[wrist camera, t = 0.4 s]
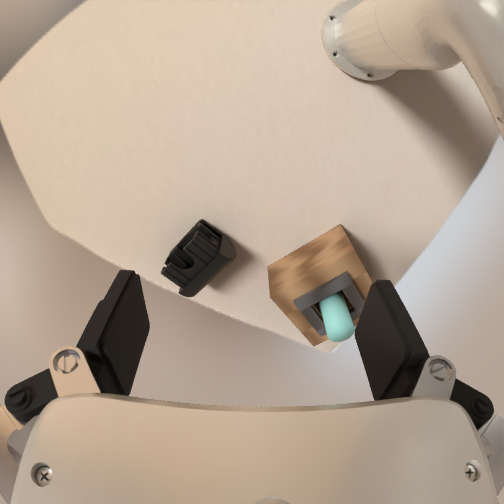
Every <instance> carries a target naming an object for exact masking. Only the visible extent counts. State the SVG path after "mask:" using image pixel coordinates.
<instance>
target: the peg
mask: <svg viewBox="0 0 504 504" xmlns="http://www.w3.org/2000/svg"><path fill="white" fill-rule="evenodd" d="M319 305H320V309H321V313H322V317H323V320H324V324H325V328H326V332H327V336H328V338H329V339H330V340H331V341H334V342H340V341H344V340H346V339H348V338H350V336H352V335H353V333H354V331H355V328H354V325H353V322H352V319H351V316H350V313H349V310H348V308H347V305H346V302H345V299H344V296H343V294H342V291H341V290H340V291H338V292H336V293H335V294H333V295H331V296H329V297H327V298H325V299H323V300H321V301H320V302H319Z"/></svg>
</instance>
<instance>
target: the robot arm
mask: <svg viewBox="0 0 504 504" xmlns="http://www.w3.org/2000/svg"><path fill="white" fill-rule="evenodd" d="M330 18H332V19H333V20H330ZM322 40H323V45H324V47H325V49H326V52H327V54H328V55H329V57H330V58H331V60H332V61H333V62H334V63H335V64H336V65H337V66H338V67H339V68H340V69H341V70H342V71H344V72H346V73H347V74H349V75H351V76H353V77H356V78H358V79H363V80H371V81H373V80H382V79H385V78H388V77H390V76H392V75H394V74H395V73H396V72H397V71H398V70H445V69H448V68H451V67H454V66H455V65H457V64H458V63H460V62H461V61H462V62H463V64H464V65H465V67H466V68H467V70H468V72H469V74H470V75H471V77H472V78H473V79H474V81H475V83H476V85H477V87H478V88H479V90H480V92H481V94H482V96H483V98H484V100H485V102H486V104H487V106H488V108H489V110H490V112H491V114H492V116H493V119H494V121H495V123H496V125H497V127H498V129H499V132H500V134H501V136H502V138H503V140H504V0H347V1H344V2H341V3H340V4H338V5H336V6H335V7H334V8H332V9H331V10H330V11H329V13H328V14H327V15H326V17H325V19H324V21H323V26H322ZM333 53H335V54H336V56H333ZM367 74H369V77H368V76H367ZM149 326H150V324H149V319H148V314H147V310H146V306H145V300H144V296H143V291H142V286H141V281H140V276H139V275H138V274H136V273H135V271H133V270H120V271H119V273H118V274H117V276H116V278H115V280H114V281H113V283H112V285H111V287H110V289H109V290H108V292H107V294H106V296H105V298H104V300H101V301H100V302H99V303H98V305H97V307H96V309H95V311H94V313H93V314H92V316H91V318H90V320H89V322H88V324H87V326H86V328H85V330H84V332H83V334H82V336H81V338H80V340H79V342H78V344H77V346H76V347H73V346H66V347H62V348H60V349H58V350H57V351H56V352H54V353H53V355H52V356H51V358H50V361H49V369H47V370H45V371H43V372H40V373H38V374H36V375H34V376H32V377H30V378H28V379H26V380H24V381H22V382H20V383H18V384H16V385H14V386H13V387H11V388H10V389H9V391H8V392H7V394H6V396H5V404H4V405H3V406H1V405H0V494H1V495H2V497H3V498H4V499H5V501H6V502H7V504H499V503H498V498H497V496H498V494H499V493H500V491H501V490H502V488H503V486H504V419H503V418H502V417H501V416H500V415H499V414H498V413H497V415H494V414H493V413H494V408H493V404H492V402H491V400H490V399H489V398H488V397H487V396H486V395H484V394H483V393H481V392H479V391H477V390H475V389H474V388H472V387H470V386H468V385H466V384H465V383H463V382H461V381H459V380H457V379H456V370H455V367H454V365H453V364H452V363H451V362H450V361H449V360H448V359H446V358H445V357H442V356H436V355H435V356H431V357H430V356H429V354H428V351H427V349H426V347H425V345H424V342H423V341H422V338H421V337H420V334H419V332H418V331H417V329H416V327H415V325H414V323H413V321H412V319H411V317H410V315H409V313H408V311H407V310H406V308H405V306H404V304H403V302H402V301H401V299H400V297H399V295H398V293H397V291H396V290H395V288H394V286H393V284H392V283H391V281H390V280H376V281H375V283H373V284H371V286H370V289H369V292H368V295H367V298H366V301H365V304H364V307H363V310H362V312H361V315H360V318H359V321H358V323H357V326H356V329H355V339H356V342H357V345H358V348H359V351H360V355H361V358H362V361H363V364H364V367H365V371H366V374H367V377H368V381H369V384H370V387H371V391H372V394H373V398H374V400H375V401H369V402H359V403H350V404H349V403H348V404H338V405H337V404H336V405H322V406H301V407H240V406H217V405H202V404H190V403H180V402H171V401H162V400H153V399H145V398H137V397H130V396H129V394H130V392H131V388H132V385H133V381H134V378H135V374H136V371H137V368H138V365H139V361H140V358H141V355H142V351H143V348H144V345H145V342H146V339H147V336H148V333H149V328H150V327H149Z"/></svg>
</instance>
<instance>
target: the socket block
mask: <svg viewBox="0 0 504 504" xmlns="http://www.w3.org/2000/svg"><path fill="white" fill-rule="evenodd" d="M268 277H269V290H270V298H271V299H272V300H273V301H274V302H275V303H276V305H277V306H278V307H279V308H280V309H281V310H282V311H283V312H284V314H285V315H286V316H287V317H288V318H289V319H290V320H291V321H292V323H293V324H294V325H295V326H296V327H297V328H298V329H299V330H300V332H301V333H302V334H303V335H304V336H305V337H306V338H307V339H308V341H309V342H310V343H311V344H312V345H313V346H316V345H318V344H320V343H322V342H324V341H326V340H328V339H329V338H328V336H327V332H326V328H325V324H324V320H323V317H322V313H321V309H320V305H319V302H320V301H321V300H323V299H325V298H327V297H329V296H331V295H333V294H335V293H336V292H338V291H340V290H341V291H342V294H343V296H344V299H345V302H346V305H347V308H348V310H349V313H350V316H351V319H352V322H353V325H354V326H356V325H357V323H358V321H359V318H360V315H361V312H362V310H363V307H364V304H365V301H366V298H367V295H368V292H369V289H370V286H371V284H373V282H372V280H371V278H370V276H369V274H368V272H367V270H366V269H365V267H364V265H363V263H362V261H361V259H360V258H359V256H358V254H357V252H356V250H355V249H354V247H353V245H352V243H351V242H350V240H349V238H348V236H347V235H346V233H345V231H344V229H343V228H342V226H341V224H340V225H338V226H336V227H335V228H333V229H331V230H330V231H328V232H326V233H324V234H323V235H321V236H319V237H318V238H316V239H314V240H313V241H311V242H309V243H307V244H306V245H304V246H302V247H301V248H299V249H297V250H295V251H294V252H292V253H290V254H289V255H287V256H285V257H283V258H282V259H280V260H278V261H276V262H275V263H273V264H271V265H269V266H268Z"/></svg>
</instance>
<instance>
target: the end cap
mask: <svg viewBox="0 0 504 504" xmlns="http://www.w3.org/2000/svg"><path fill="white" fill-rule="evenodd" d="M235 258H236V251H235V248H234V246H233V245H232V243H231V242H230V241H229V239H228V238H227V237H226V236H225V235H224V234H221V233H220V232H219V231H218V230H216V229H215V228H214V227H213V226H211V225H210V224H209V223H208V222H206V221H205V220H203V219H201V220H199V221H198V222H197V223H196V225H195V226H194V227H193V228H192V229H191V230H190V231H189V232H188V233H187V234H186V235H185V236H184V238H183V239H182V240H181V241H180V242H179V243H178V244H177V245H176V246H175V247H174V249H173V250H172V251H171V252H170V254H169V256H168V257H167V259H166V261H165V264H166V265H167V267H166V268H165V267H163V269H162V271H161V274H162V275H164V276H165V277H167V278H168V279H169V280H171V281H172V282H174V283H175V284H176V285H178V286H179V287H180V290H179V294H181V295H183V296H185V297H193V296H195V295H196V294H197V293H198V292H199V291H201V290H202V289H203V288H204V287H205V286H206V285H207V284H208V283H209V282H210V281H211V280H213V279H214V278H215V277H216V276H217V275H218V274H219V273H220V272H221V271H222V270H223V269H225V268H226V267H227V266H228V265H229V264H230V263H231V262H232V261H233V260H234V259H235Z"/></svg>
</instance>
